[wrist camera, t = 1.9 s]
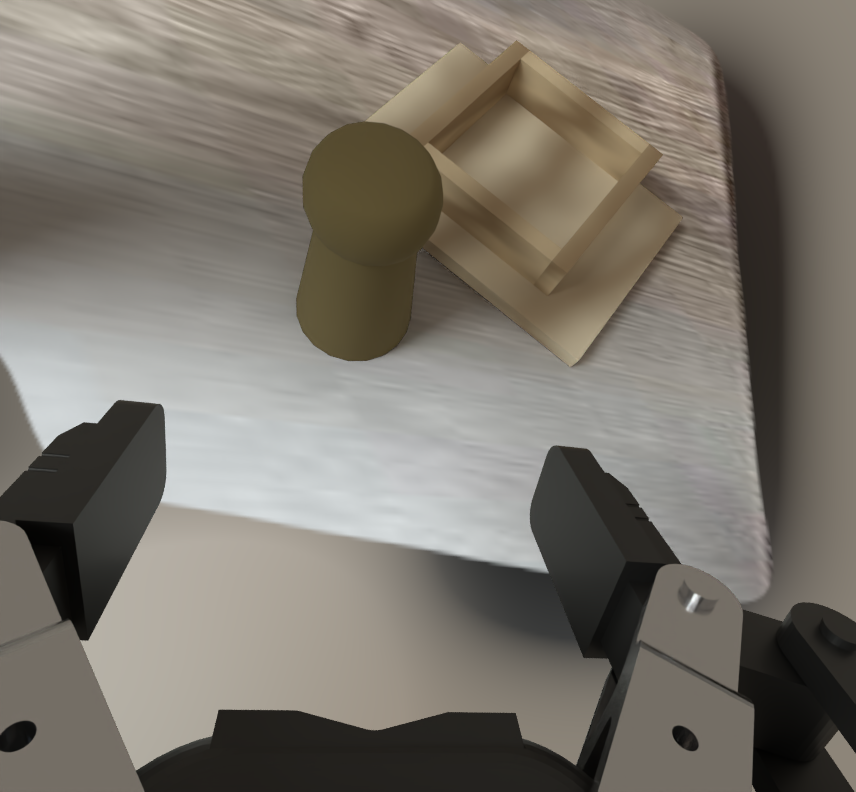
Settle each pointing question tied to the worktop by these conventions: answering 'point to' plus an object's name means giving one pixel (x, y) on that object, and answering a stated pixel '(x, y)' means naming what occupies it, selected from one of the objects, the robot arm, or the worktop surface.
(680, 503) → the worktop surface
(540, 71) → the stand
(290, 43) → the worktop surface
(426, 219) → the cork
